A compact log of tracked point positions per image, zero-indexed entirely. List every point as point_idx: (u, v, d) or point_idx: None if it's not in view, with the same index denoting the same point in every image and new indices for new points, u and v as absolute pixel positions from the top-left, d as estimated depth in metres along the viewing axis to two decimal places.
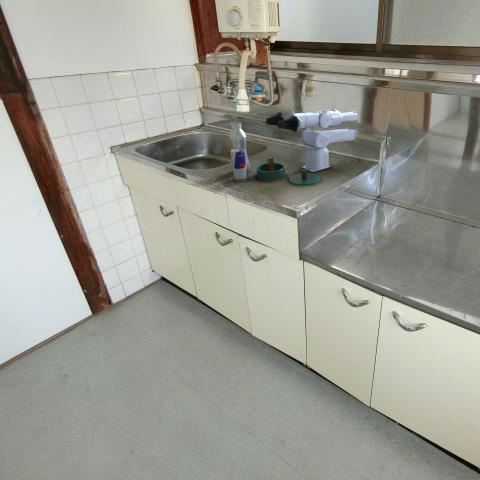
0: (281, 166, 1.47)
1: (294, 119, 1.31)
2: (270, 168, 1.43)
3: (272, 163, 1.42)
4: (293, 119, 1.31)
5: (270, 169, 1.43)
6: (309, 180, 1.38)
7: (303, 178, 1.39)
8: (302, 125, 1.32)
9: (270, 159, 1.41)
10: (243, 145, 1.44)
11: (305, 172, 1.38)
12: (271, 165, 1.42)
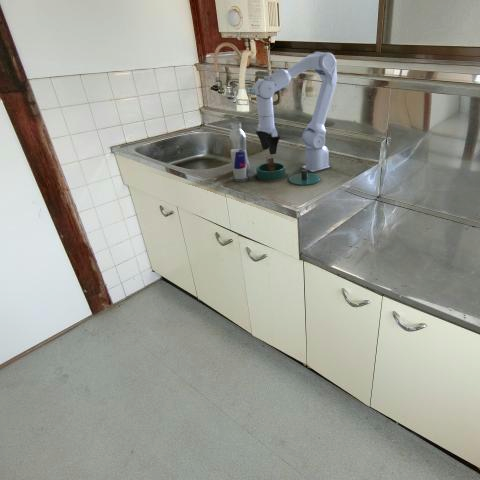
0: (281, 166, 1.47)
1: (269, 140, 1.32)
2: (270, 168, 1.43)
3: (272, 163, 1.42)
4: (269, 141, 1.33)
5: (270, 169, 1.43)
6: (309, 180, 1.38)
7: (303, 178, 1.39)
8: (275, 133, 1.31)
9: (270, 159, 1.41)
10: (243, 145, 1.44)
11: (305, 172, 1.38)
12: (271, 165, 1.42)
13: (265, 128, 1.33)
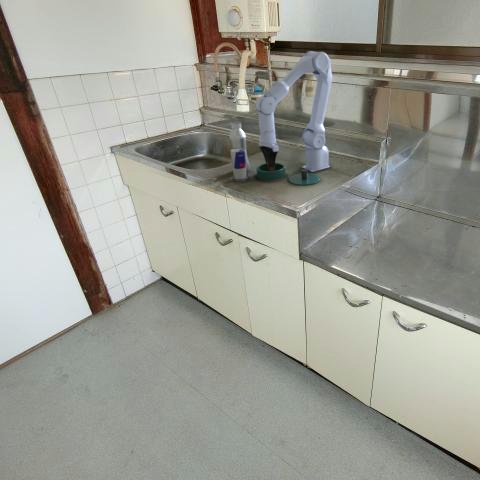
0: (281, 166, 1.47)
1: (268, 153, 1.37)
2: (270, 168, 1.43)
3: None
4: (268, 154, 1.37)
5: (270, 169, 1.43)
6: (309, 180, 1.38)
7: (303, 178, 1.39)
8: (276, 148, 1.34)
9: None
10: (243, 145, 1.44)
11: (305, 172, 1.38)
12: None
13: (266, 143, 1.36)
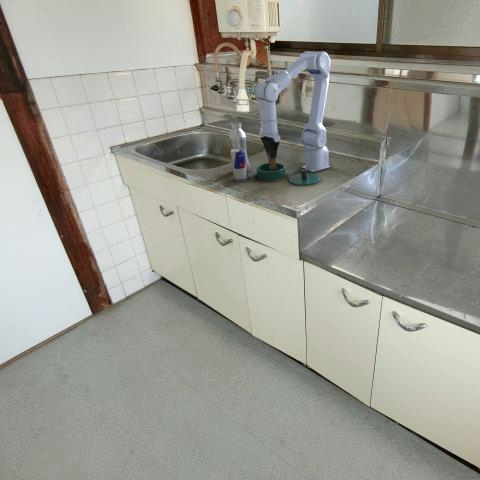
0: (281, 166, 1.47)
1: (269, 143, 1.28)
2: (271, 160, 1.34)
3: None
4: (269, 145, 1.29)
5: (271, 161, 1.34)
6: (309, 180, 1.38)
7: (303, 178, 1.39)
8: (278, 138, 1.25)
9: None
10: (243, 145, 1.44)
11: (305, 172, 1.38)
12: None
13: (267, 133, 1.27)
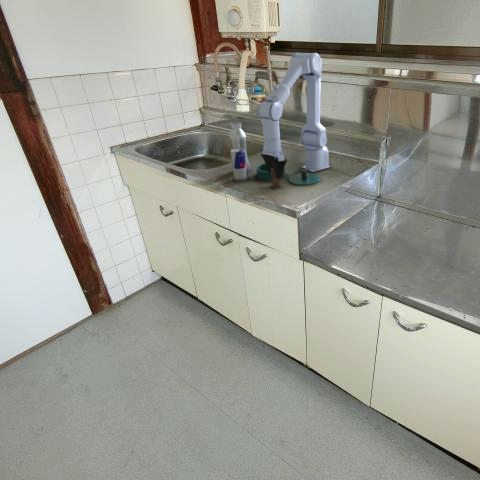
0: None
1: (275, 164, 1.25)
2: (275, 180, 1.33)
3: None
4: (275, 165, 1.25)
5: (275, 181, 1.33)
6: (309, 180, 1.38)
7: (303, 178, 1.39)
8: (282, 157, 1.23)
9: None
10: (243, 145, 1.44)
11: (305, 172, 1.38)
12: None
13: (271, 151, 1.26)
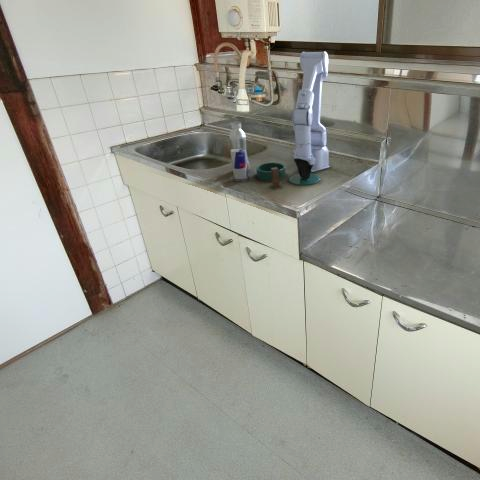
0: (281, 166, 1.47)
1: (304, 166, 1.34)
2: (275, 180, 1.33)
3: (277, 174, 1.32)
4: (303, 167, 1.34)
5: (275, 181, 1.33)
6: (309, 180, 1.38)
7: (303, 178, 1.39)
8: (313, 161, 1.30)
9: (275, 170, 1.31)
10: (243, 145, 1.44)
11: None
12: (276, 176, 1.32)
13: (302, 156, 1.33)
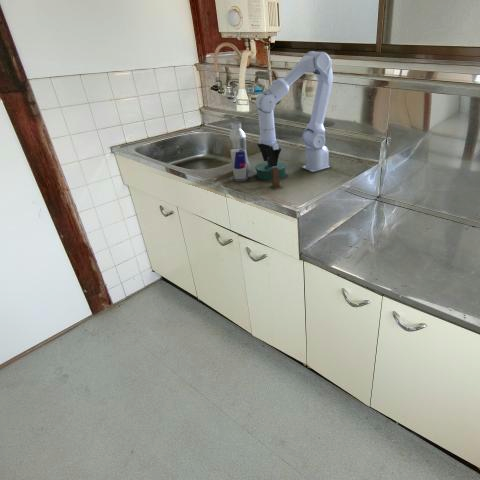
0: None
1: (270, 153, 1.35)
2: (275, 180, 1.33)
3: (277, 174, 1.32)
4: (270, 154, 1.35)
5: (275, 181, 1.33)
6: None
7: (269, 165, 1.42)
8: (276, 146, 1.33)
9: (275, 170, 1.31)
10: (243, 145, 1.44)
11: None
12: (276, 176, 1.32)
13: (266, 141, 1.36)
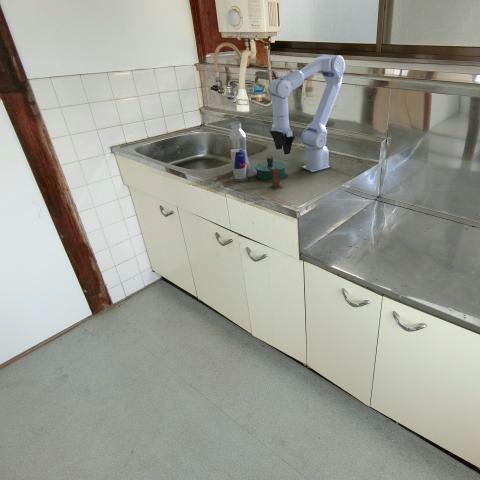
0: None
1: (284, 140, 1.32)
2: (275, 180, 1.33)
3: (277, 174, 1.32)
4: (283, 141, 1.32)
5: (275, 181, 1.33)
6: None
7: (269, 165, 1.42)
8: (290, 133, 1.30)
9: (275, 170, 1.31)
10: (243, 145, 1.44)
11: (270, 159, 1.41)
12: (276, 176, 1.32)
13: (280, 128, 1.33)
